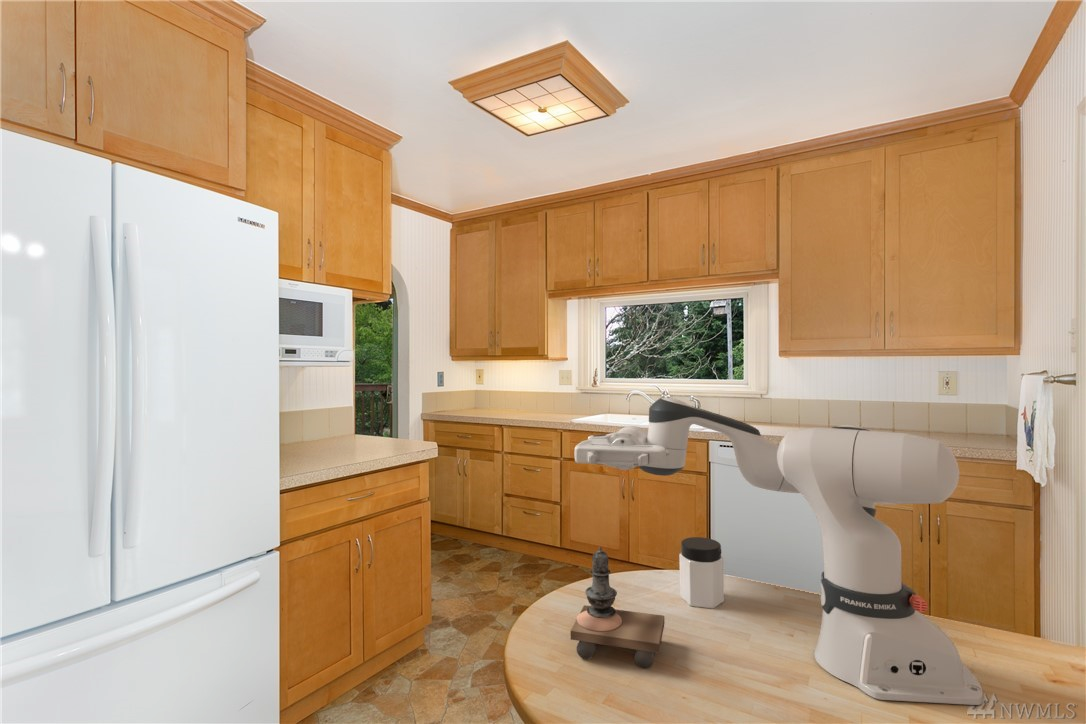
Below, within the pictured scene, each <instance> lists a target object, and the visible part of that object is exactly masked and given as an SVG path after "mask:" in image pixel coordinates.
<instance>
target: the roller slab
mask: <svg viewBox="0 0 1086 724" xmlns="http://www.w3.org/2000/svg"><path fill="white" fill-rule="evenodd" d="M590 606H591V605H585V604H584V605H583V606H582V608H581V610H580V612H579V614H578V615H577V617H576V620H575V621H574V623H573V624H572V625H573V626H572V628H571V629H570V640H571V641H572V640H573V641H578V643H577V646H576V648H575V649H576V654H577V655H578V656H579V657H580V658H581V659H583V660H589V659H591V658H592V657H593V655H594V654H595V651H596V648H597V647H598V644H599V645H604V646H611V647H618V648H625V649H632V650H636V651H635V653H634V654H635V655H634V661H635V664H636V665H637V666H638V667H639V668H640V669H645V670H646V669H649V668H651V667H652V665H653V663H654V659H655V653H658V654H659V653H660V648H661V644H662V639H663V634H664V633H663V632H664V629H665V615H662V614H654V613H646V612H638V611H631V610H623V609H615V608H614V609H615V611H616V613H615V615H613V616H612V617H608V618H596V617H593V616H591V615H589V614H588V613H587V609H588V607H590Z"/></svg>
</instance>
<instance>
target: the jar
mask: <svg viewBox="0 0 1086 724" xmlns="http://www.w3.org/2000/svg"><path fill="white" fill-rule="evenodd" d="M680 547H681V551H680V553H679V556H678V557H679V560H678V561H679V562H678V563H679V596H680V598H681V599H682V600H683V601H684V602H686V604H688V605H689V606H690V607H695V608H696V607H697V608H707V609H714V608H716V607H717V606H719V605H721V604H722V603H724V602H725V596H724V595H725V592H724V590H725V589H724V588H725V585H724V584H725V581H724V577H725V576H724V575H725V574H724V557H723V556H722V545H721V543H720V542H719V541H717V540H715V539H712V538H708V537H701V536H700V537H699V536H698V537H697V536H694V537H687V538H686V537H685V538H684V539H682V540H681V543H680Z"/></svg>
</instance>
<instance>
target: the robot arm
mask: <svg viewBox="0 0 1086 724" xmlns="http://www.w3.org/2000/svg"><path fill="white" fill-rule="evenodd" d="M692 425H696V426H699V427H703V428H706V429H709V430H712V431H715V432H718V433H721V434H723V435H726V437H727V438H728V439H729V440H730V442H731V444H732V447H733V452H734V455H735V459H736V463H737V466H738V469H739V471H740V474H741V475H742V477H743V478H744V480H745V481H747V482H748V483H749V484H750V485H752V486H753V487H756V488H759V489H762V490H767V491H772V492H773V491H774V492H781V493H790V494H801V495H802V496H803V497H804V499H805V500H806V502H807V503H808V504H809V506H810V507H811V509H812V511H813V513H814V514H815V516H816V519H817V521H818V524H819V528H820V533H821V540H822V541H821V542H822V550H823V551H822V553H823V571H822V572H821V578H820V603H821V604H820V605H821V607H822V616H821V623H820V625H821V626H820V630H819V636H818V639H817V642H816V646H815V650H814V652H813V653H814V654H813V655H814V659H815V660H816V662H817V664H818V665H819V666H820V667H821V668H822V669H824V671H826V672H827V673H829V674H830V675H832V676H834V677H835V678H837V679H840V680H841V681H843V682H846V683H848V684H850V685H853V686H855V687H856V688H858V689H859V690H861V691H862V692H863V693H864V694H867V696H870V697H871V698H874V699H875V700H880V701H881V700H882V701H900V702H901V701H902V702H915V703H916V702H917V703H933V704H934V703H935V704H953V705H966V706H967V705H971V706H979V705H982V703H983V702H984V694H983V688H982V685H981V684H980V682H979V681H978V679H977V677H976V676H975V674H973V672H972V671H971V670H970V669H969V668H968V667H967V666H966V665H965V664H963V663H962V660H961V656H960V654H959V651H958V649H957V647H956V645H955V644H954V641H953V640H952V639H951V638H950V636H949V635H948V634H947V633H946V632H945V631H944V630H942V629H941V628H940V627H939V626H937V625H936V624H935V623H934V622H933V621H931V620H930V619H929V618H927V617H926V616H925V615H924V614H923V613H925V612H926V611H927V610H928V608H929V606H928V602H927V601H926V600H925V599H924V598H923V597H922V596H920V595H918V594H916V592H915V591H914V590H913V589H912V588H911V587H909V586H908V584H905V582H903V581H902V578H903V577H902V545H901V542H900V539H899V537H898V535H897V534H896V533H895V531H894V530H892V529H891V527H890V526H888V525H887V524H885V523H884V522H883V521H882V520H879V519H877V518H876V517H875V516H876V512H877V509H876V504H877V505H878V504H879V505H884V506H885V505H886V506H890V505H891V506H892V505H899V504H900V505H905V504H909V505H920V504H921V505H924V504H925V505H926V504H930V505H931V504H942V503H943V502H946V501H947V500H948V499H949V498H950V496H952V494H953V493H954V492H955V491H956V488H957V487H958V483H959V480H960V468H959V464H958V460H957V459H956V456H955V454H954V453H953V452H952V450H951V449H950V448H949V447H948V446H947V445H946V444H945V443H944V442H943V441H941V440H938V439H933V438H929V437H924V436H920V435H917V434H911V433H906V432H893V431H891V432H890V431H878V430H877V431H875V430H870V429H866V428H864V427H862V426H860V425H854V424H842V425H838V426H832V427H809V428H808V427H807V428H799V429H793V430H789V431H788V432H787V433H786V434H785V435H784V436H783V437H782V439H781V441H780V442H779V443H774V442H772V441H769V440H767V439H766V438H764V437H763V436H762V435H761V431H760V430H759V429H758V428H756V427H754V426H753V425H751V424H749V423H746V422H743V421H740V420H737V419H734V418H731V417H729V416H728V417H727V416H725V415H722V414H719V413H716V412H712V411H709V410H706V409H702V408H699V407H696V406H693V405H690V404H689V403H686V402H684V401H682V400H680V399H677V398H672V397H660V398H658V399H657V400H655V401H654V402H653V403H652V404H651V405H650V406H649V408H648V430H647V431H646V430H645V429H643V428H641V427H640V426H637V425H629V426H624V427H623V428H621V429H619V430H618V431H615V432H611V433H608V434H607V433H606V434H594V435H590V436H588V437H587V439H585V440H583V441H581V442H579V443H577V444H576V445H575V447H574V452H573V454H574V462H575V463H577V464H589V465H602V466H606V467H607V466H608V467H611V468H615V469H618V470H621V471H629V470H632V469H635V468H637V467H638V468H639V469H640V470H641V471H642V472H645V473H647V474H650V475H656V476H662V477H663V476H664V477H665V476H667V477H668V476H673V475H675V474H676V473H679V472H680V471H682V470H683V469H684V468H685V465H686V458H687V450H688V448H687V447H688V441H689V440H688V439H689V433H690V427H691V426H692Z"/></svg>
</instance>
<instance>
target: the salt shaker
mask: <svg viewBox="0 0 1086 724" xmlns="http://www.w3.org/2000/svg"><path fill="white" fill-rule="evenodd" d="M590 573H591V574H592V584H591V586H589V587H587V588H586V589H585V591H584V594H585V595H586V599H587V601H588V603H589V604H590V605H589V606H590V607H588V609H587V613H588V614H589V615H591V616H593V617H596V618H608V617H612V616H613V615H615V613H616V611H615V608H614V607H613V604H614V603H615V602H616V601H615V600H616V597H617V595H618V591H617V590H616V589H615V588H614V587H611V584H610V574H611V570H610V569H609V554H608V553H607V552H606V551H603V548H602V547H601V546H599V547H598V550H597V551H595V552H594V553H593V554H592V569H591V570H590Z"/></svg>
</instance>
